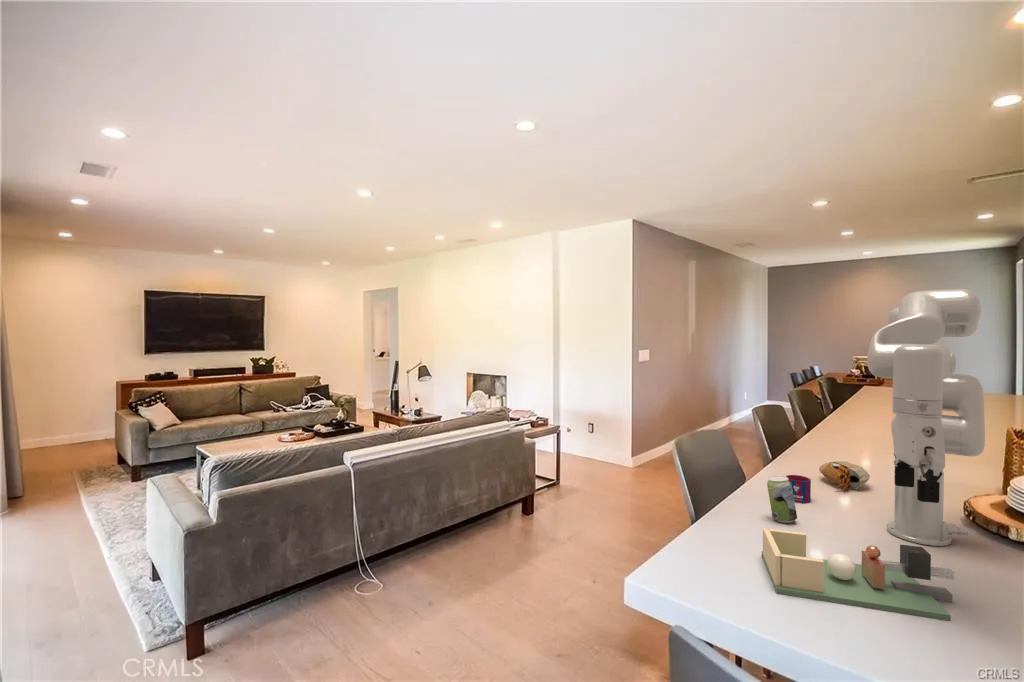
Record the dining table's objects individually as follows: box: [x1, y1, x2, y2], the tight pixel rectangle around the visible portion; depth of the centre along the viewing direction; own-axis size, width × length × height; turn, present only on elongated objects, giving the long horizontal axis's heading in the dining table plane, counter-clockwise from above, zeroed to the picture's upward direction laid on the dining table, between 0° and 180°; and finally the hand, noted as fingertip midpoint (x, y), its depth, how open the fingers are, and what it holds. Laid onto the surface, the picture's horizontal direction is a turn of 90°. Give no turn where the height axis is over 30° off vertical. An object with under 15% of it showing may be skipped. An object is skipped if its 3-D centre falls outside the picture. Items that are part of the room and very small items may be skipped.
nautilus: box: [819, 460, 871, 493], centre depth 161 cm, size 8×22×15 cm
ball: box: [827, 553, 856, 580], centre depth 98 cm, size 5×5×5 cm
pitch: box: [761, 527, 953, 621], centre depth 98 cm, size 32×17×7 cm, turn 71°
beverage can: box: [766, 475, 798, 524], centre depth 131 cm, size 6×7×12 cm
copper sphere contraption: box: [861, 544, 955, 589], centre depth 95 cm, size 14×6×8 cm, turn 71°
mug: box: [785, 474, 812, 504], centre depth 149 cm, size 7×10×7 cm
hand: (915, 493), depth 94 cm, fingers open, 9 cm apart
